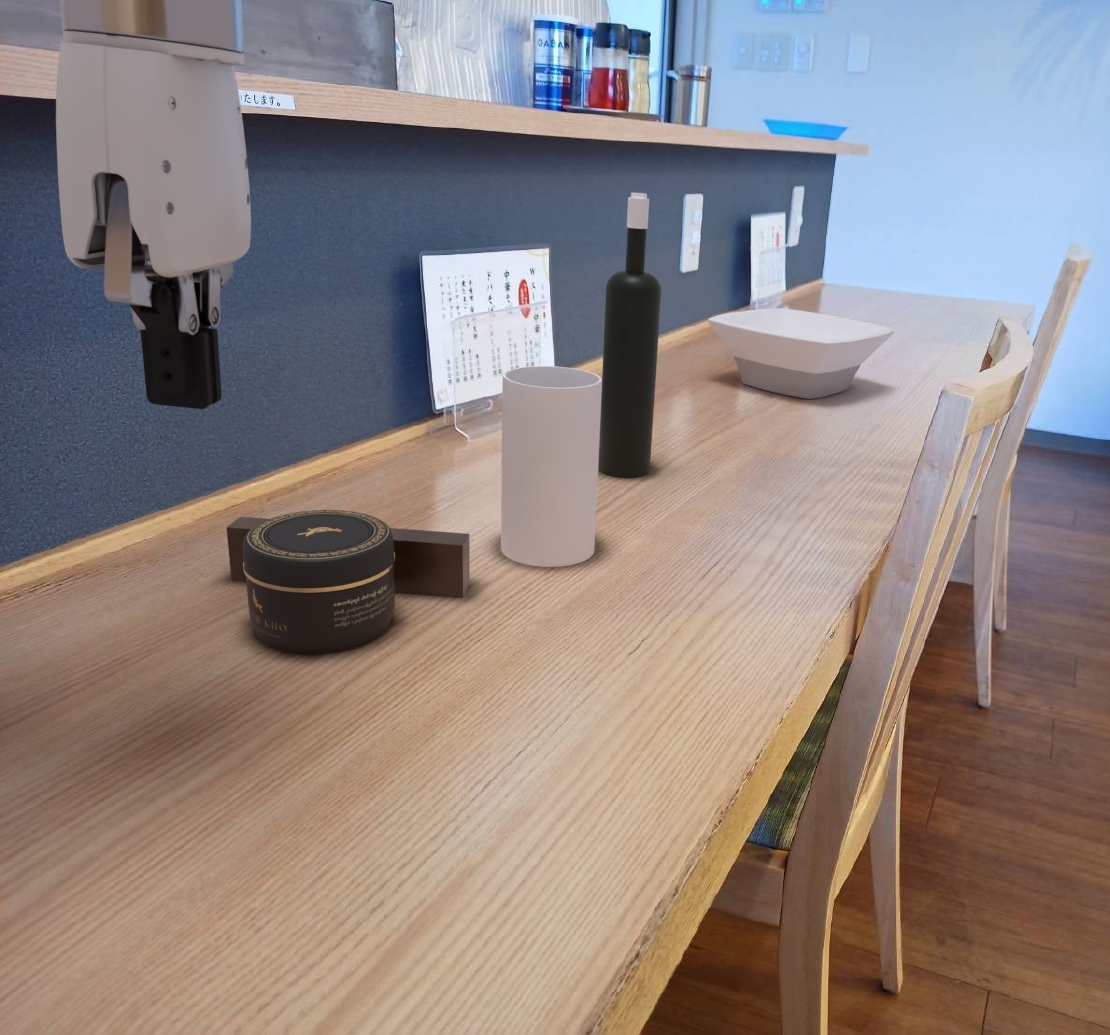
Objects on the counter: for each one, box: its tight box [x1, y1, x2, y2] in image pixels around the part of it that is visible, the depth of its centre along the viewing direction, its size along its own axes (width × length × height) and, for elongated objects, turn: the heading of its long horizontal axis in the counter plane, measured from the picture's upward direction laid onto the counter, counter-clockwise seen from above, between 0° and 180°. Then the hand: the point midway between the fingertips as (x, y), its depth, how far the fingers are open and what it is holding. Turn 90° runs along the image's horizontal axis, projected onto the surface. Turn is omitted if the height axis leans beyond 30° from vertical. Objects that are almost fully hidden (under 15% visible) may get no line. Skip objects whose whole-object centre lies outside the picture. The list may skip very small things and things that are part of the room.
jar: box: [243, 509, 396, 655], centre depth 70 cm, size 10×10×8 cm
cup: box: [500, 365, 602, 568], centre depth 85 cm, size 8×8×16 cm
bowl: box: [707, 307, 895, 400], centre depth 157 cm, size 24×25×10 cm
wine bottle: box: [598, 191, 662, 479], centre depth 105 cm, size 6×6×30 cm
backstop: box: [226, 516, 471, 599], centre depth 77 cm, size 18×2×5 cm, turn 89°
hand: (185, 402), depth 52 cm, fingers closed
